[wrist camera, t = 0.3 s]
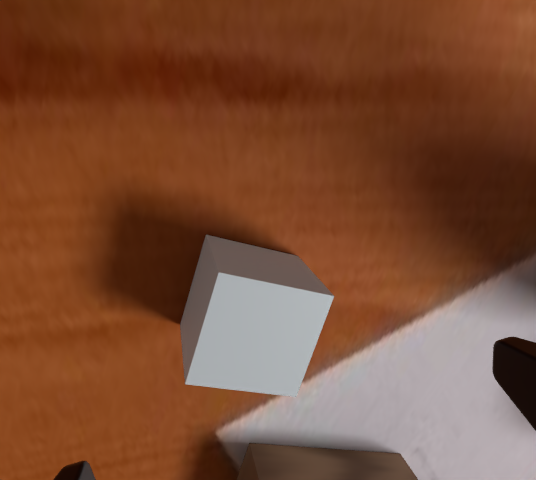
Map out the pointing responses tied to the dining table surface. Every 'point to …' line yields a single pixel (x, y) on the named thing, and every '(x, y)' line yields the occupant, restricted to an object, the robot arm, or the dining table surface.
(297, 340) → the grey cube
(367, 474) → the brown boxy piece
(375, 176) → the dining table surface
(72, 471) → the robot arm
